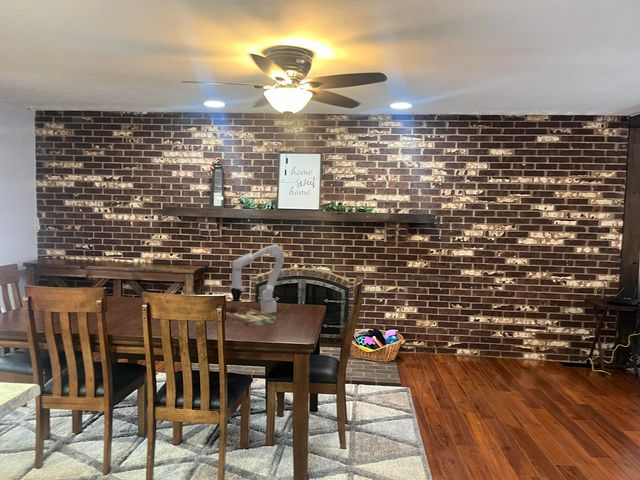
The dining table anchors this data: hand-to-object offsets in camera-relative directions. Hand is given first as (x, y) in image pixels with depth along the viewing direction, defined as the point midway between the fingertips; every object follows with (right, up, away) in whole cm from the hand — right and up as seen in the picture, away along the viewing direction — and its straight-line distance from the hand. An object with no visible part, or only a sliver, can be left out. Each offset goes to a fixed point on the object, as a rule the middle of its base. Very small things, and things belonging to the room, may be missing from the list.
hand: (236, 300), depth 273 cm
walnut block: (+4, -7, -5) cm, 10 cm away
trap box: (+11, -10, -12) cm, 19 cm away
